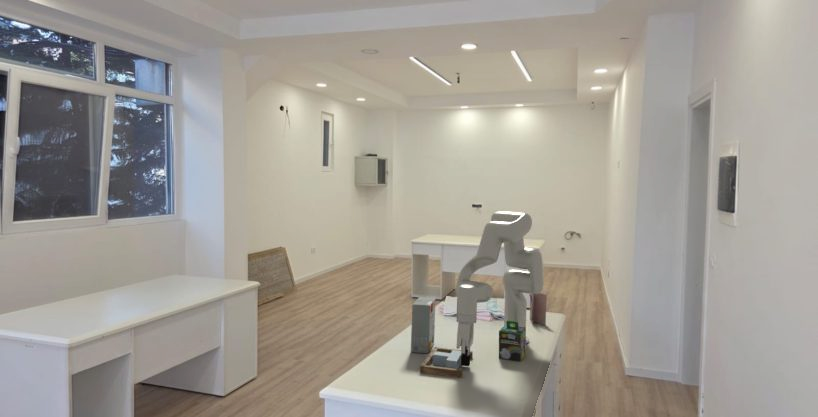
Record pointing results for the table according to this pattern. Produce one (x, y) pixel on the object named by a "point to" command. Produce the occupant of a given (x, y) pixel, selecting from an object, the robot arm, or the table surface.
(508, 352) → the chalk box
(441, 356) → the tee block
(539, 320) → the greeting card
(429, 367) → the walnut bay
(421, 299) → the hard drive box
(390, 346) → the table surface
